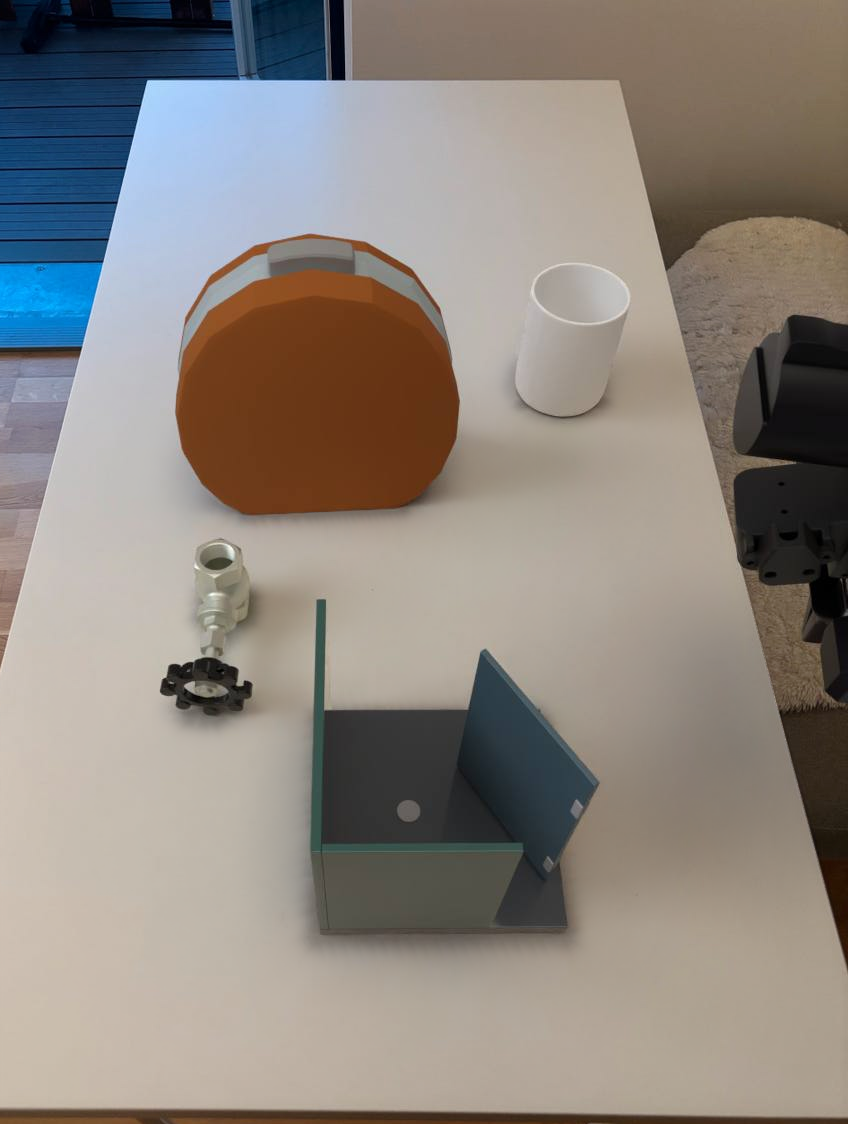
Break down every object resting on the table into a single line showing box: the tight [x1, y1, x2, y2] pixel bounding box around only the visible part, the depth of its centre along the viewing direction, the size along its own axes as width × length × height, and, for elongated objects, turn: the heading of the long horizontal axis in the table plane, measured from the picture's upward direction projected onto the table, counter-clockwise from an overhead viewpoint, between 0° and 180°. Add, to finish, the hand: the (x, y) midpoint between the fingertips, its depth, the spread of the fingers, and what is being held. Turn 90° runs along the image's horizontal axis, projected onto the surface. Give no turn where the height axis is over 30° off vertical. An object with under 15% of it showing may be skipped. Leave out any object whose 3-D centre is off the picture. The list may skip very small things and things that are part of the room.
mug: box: [514, 262, 632, 418], centre depth 84 cm, size 9×12×11 cm
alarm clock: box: [174, 233, 461, 516], centre depth 72 cm, size 22×10×23 cm, turn 94°
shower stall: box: [309, 598, 569, 935], centre depth 58 cm, size 16×16×15 cm
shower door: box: [456, 648, 601, 880], centre depth 56 cm, size 2×10×15 cm, turn 33°
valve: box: [159, 537, 254, 717], centre depth 69 cm, size 7×7×12 cm
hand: (809, 637), depth 58 cm, fingers closed
